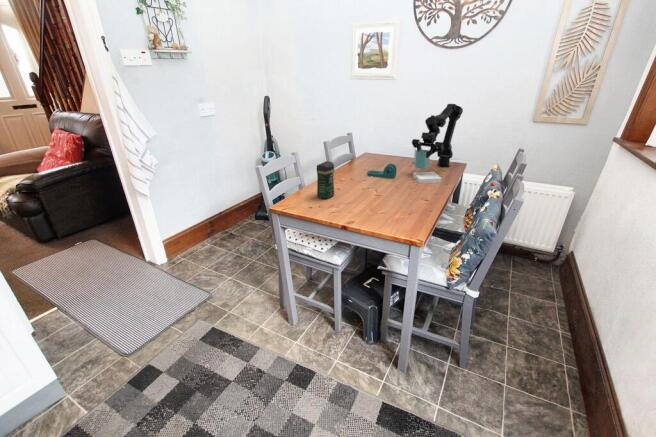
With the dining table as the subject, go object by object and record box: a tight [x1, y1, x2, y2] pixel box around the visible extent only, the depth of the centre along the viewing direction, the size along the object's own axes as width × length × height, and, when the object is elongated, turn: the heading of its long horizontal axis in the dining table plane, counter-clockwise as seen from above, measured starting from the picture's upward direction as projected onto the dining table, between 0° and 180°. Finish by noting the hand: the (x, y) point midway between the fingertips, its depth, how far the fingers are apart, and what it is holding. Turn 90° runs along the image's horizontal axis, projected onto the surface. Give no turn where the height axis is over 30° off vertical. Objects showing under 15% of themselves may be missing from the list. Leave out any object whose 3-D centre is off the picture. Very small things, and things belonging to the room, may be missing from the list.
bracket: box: [366, 163, 397, 180], centre depth 191 cm, size 18×7×8 cm, turn 67°
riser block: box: [412, 171, 443, 184], centre depth 184 cm, size 13×13×3 cm
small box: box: [413, 147, 428, 165], centre depth 214 cm, size 8×6×10 cm
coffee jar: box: [316, 160, 335, 199], centre depth 159 cm, size 10×8×19 cm
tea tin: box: [414, 149, 431, 170], centre depth 182 cm, size 6×6×10 cm
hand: (421, 156), depth 180 cm, fingers closed on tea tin, 6 cm apart
